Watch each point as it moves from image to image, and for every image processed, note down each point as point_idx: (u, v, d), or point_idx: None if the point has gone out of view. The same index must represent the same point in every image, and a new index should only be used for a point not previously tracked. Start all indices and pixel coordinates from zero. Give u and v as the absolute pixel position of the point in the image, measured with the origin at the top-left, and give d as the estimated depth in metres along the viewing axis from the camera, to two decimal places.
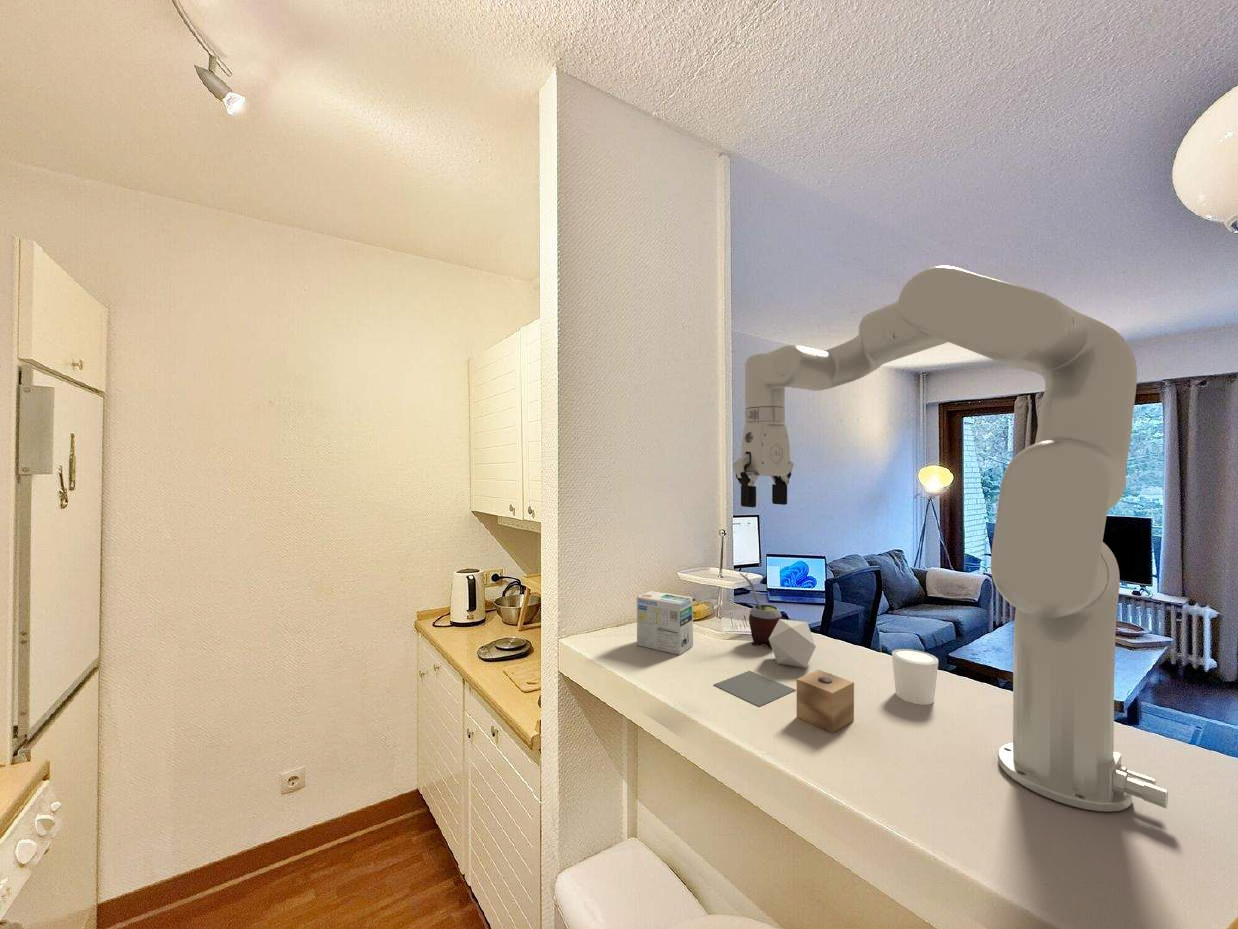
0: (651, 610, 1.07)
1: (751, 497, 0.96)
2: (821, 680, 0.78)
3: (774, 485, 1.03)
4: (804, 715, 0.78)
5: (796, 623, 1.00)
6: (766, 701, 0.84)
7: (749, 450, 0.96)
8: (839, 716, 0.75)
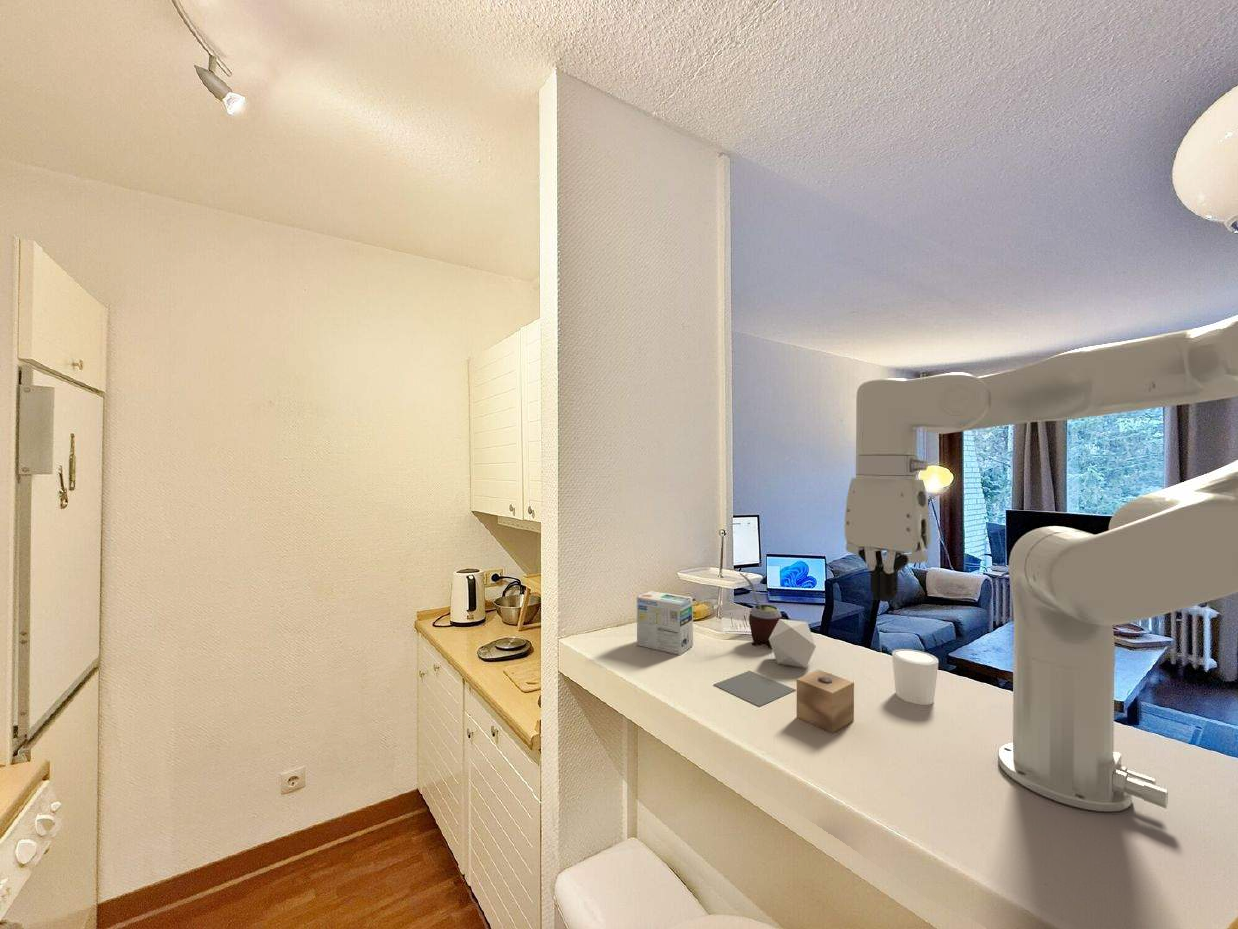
0: (651, 610, 1.07)
1: None
2: (821, 680, 0.78)
3: (879, 573, 0.71)
4: (804, 715, 0.78)
5: (796, 623, 1.00)
6: (766, 701, 0.84)
7: (924, 517, 0.67)
8: (839, 716, 0.75)
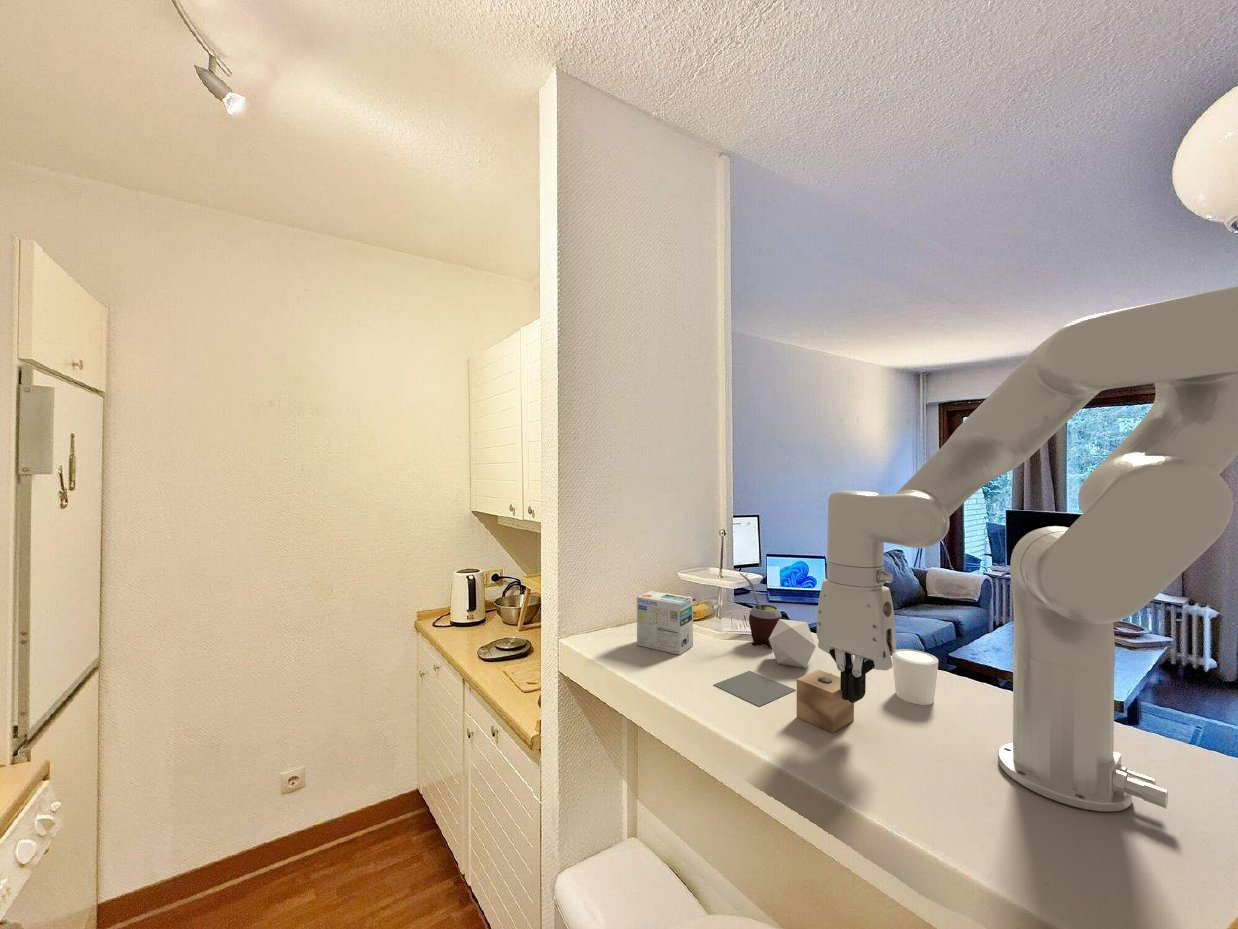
0: (651, 610, 1.07)
1: None
2: (821, 680, 0.78)
3: (848, 674, 0.74)
4: (804, 715, 0.78)
5: (796, 623, 1.00)
6: (766, 701, 0.84)
7: (889, 626, 0.71)
8: (839, 716, 0.75)
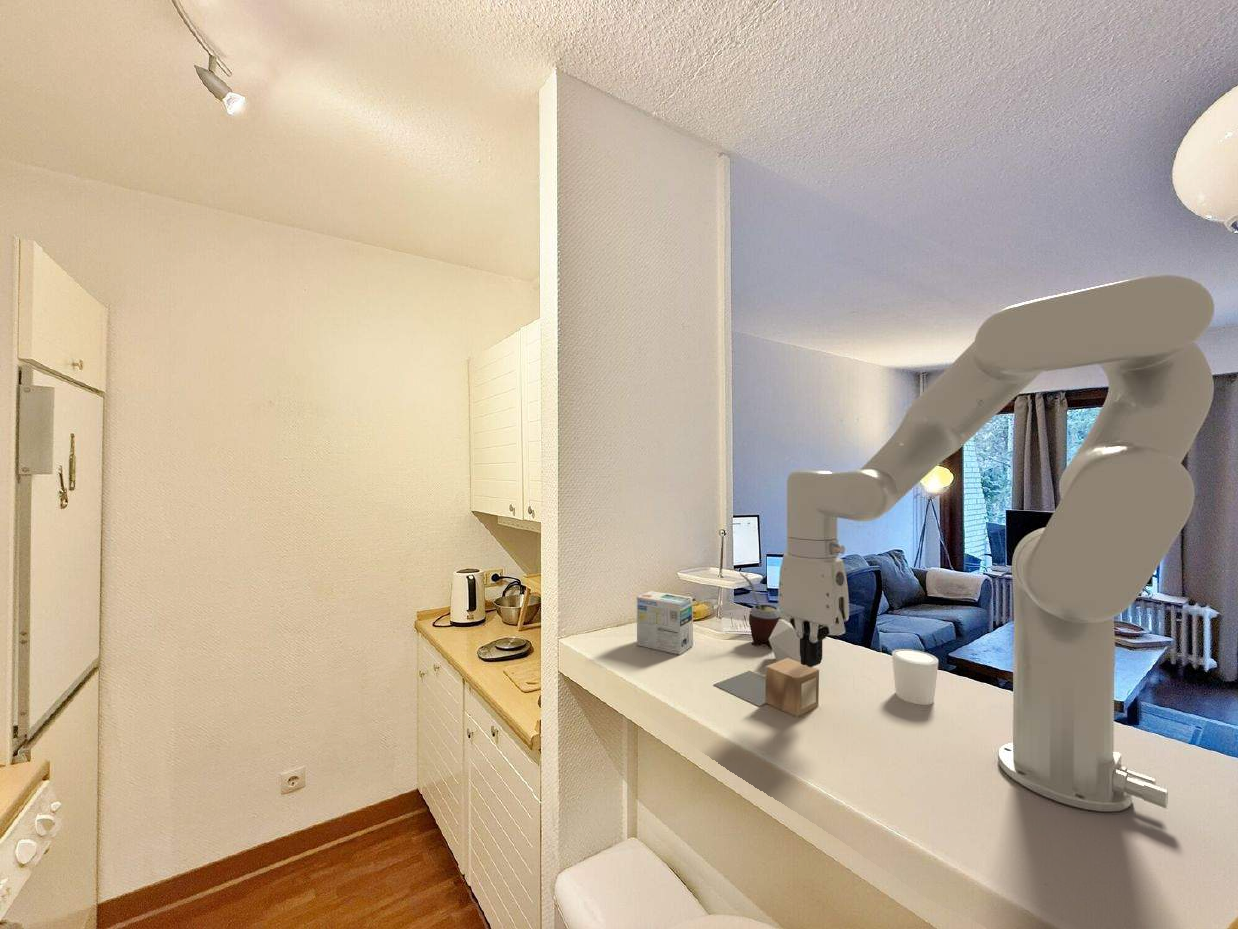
0: (651, 610, 1.07)
1: None
2: None
3: (806, 641, 0.80)
4: (792, 706, 0.80)
5: None
6: None
7: (842, 595, 0.76)
8: (793, 671, 0.82)
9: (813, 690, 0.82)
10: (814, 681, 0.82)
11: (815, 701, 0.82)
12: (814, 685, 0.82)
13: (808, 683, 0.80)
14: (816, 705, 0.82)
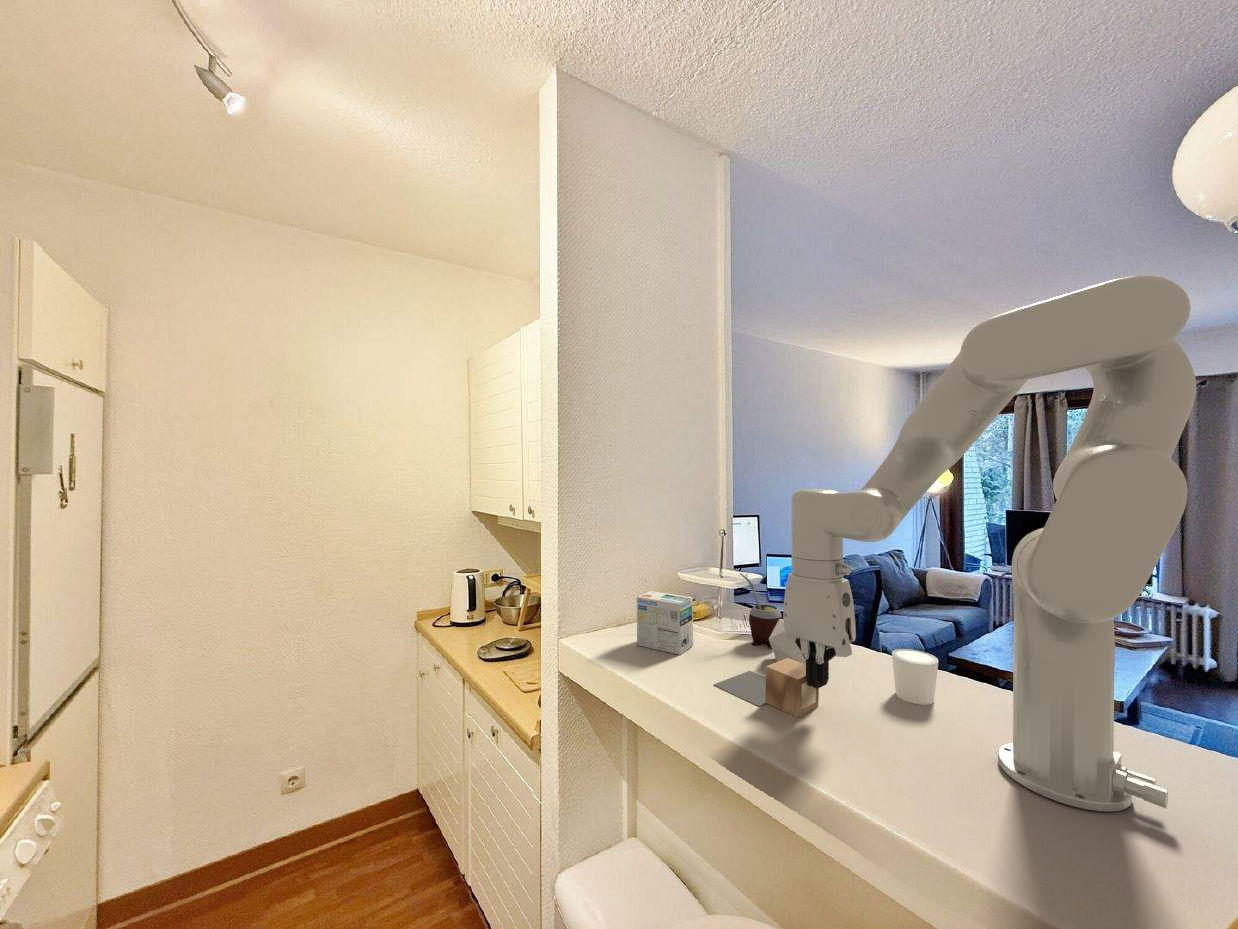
0: (651, 610, 1.07)
1: None
2: None
3: (812, 662, 0.79)
4: (792, 706, 0.80)
5: None
6: None
7: (848, 616, 0.76)
8: (794, 672, 0.81)
9: (813, 691, 0.81)
10: None
11: (815, 702, 0.82)
12: None
13: None
14: (816, 705, 0.82)
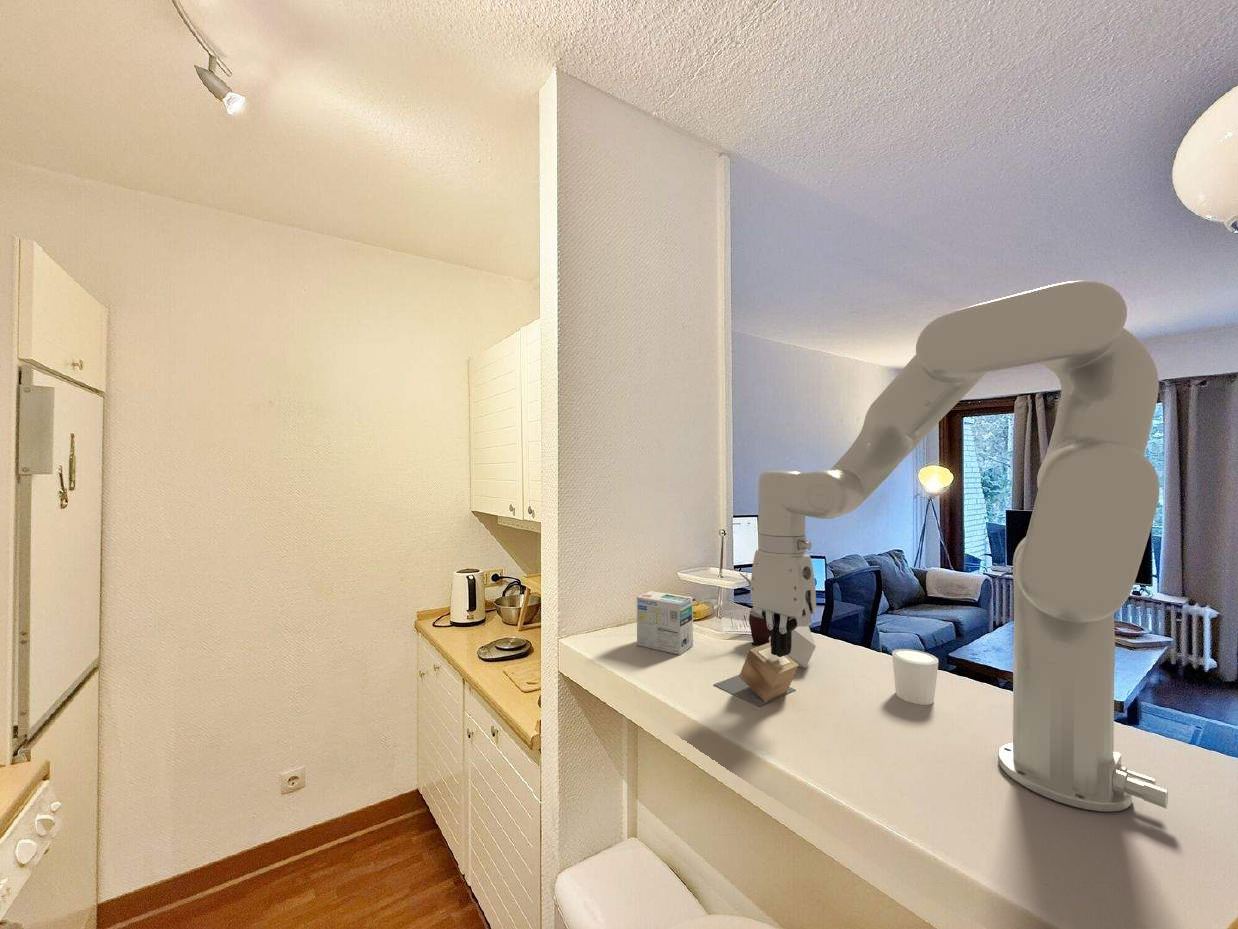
0: (651, 610, 1.07)
1: None
2: None
3: (776, 632, 0.84)
4: (769, 672, 0.83)
5: None
6: None
7: (809, 588, 0.81)
8: None
9: None
10: None
11: (790, 662, 0.86)
12: None
13: (766, 651, 0.87)
14: (795, 664, 0.85)
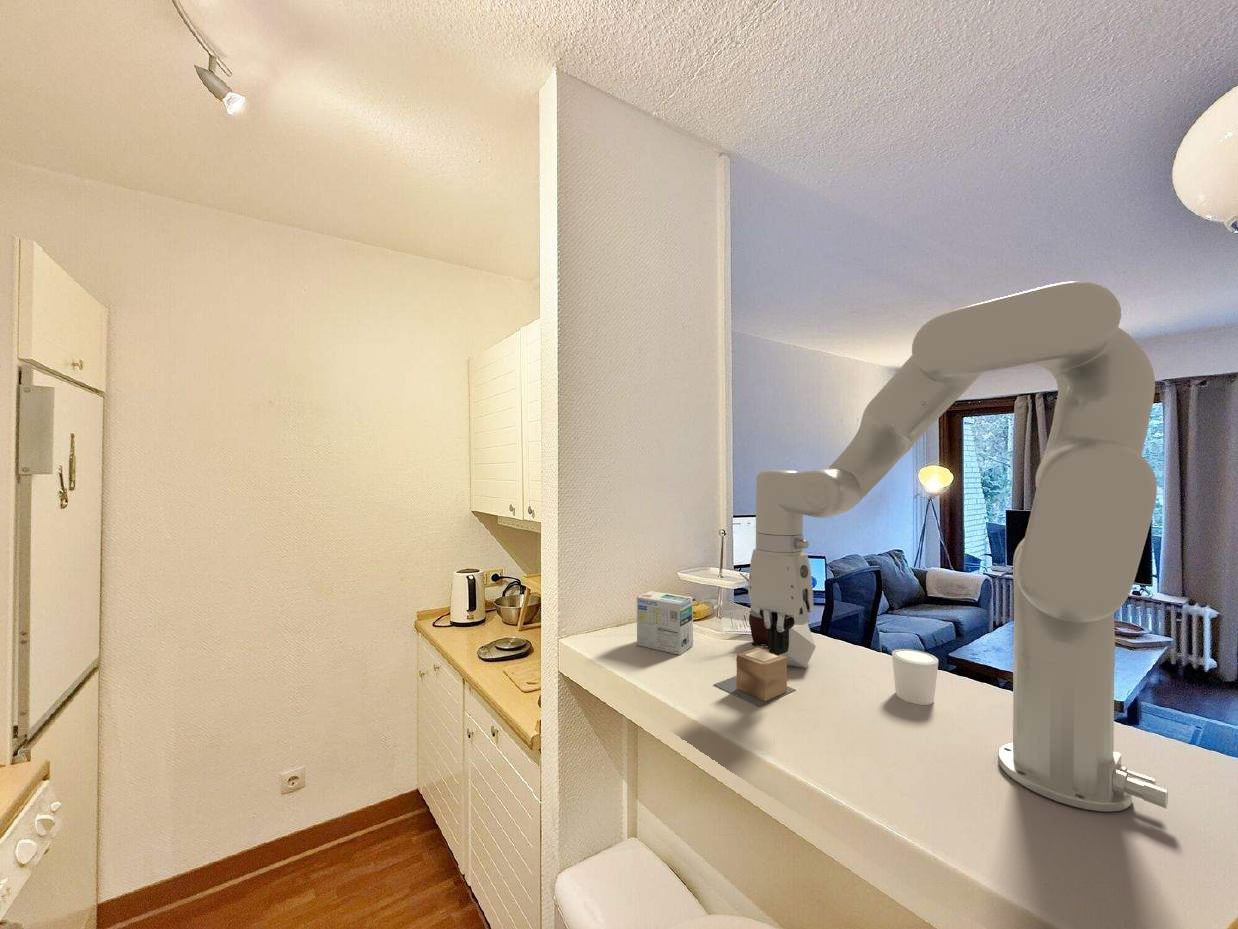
0: (651, 610, 1.07)
1: None
2: None
3: (774, 631, 0.85)
4: (758, 667, 0.85)
5: None
6: (766, 701, 0.84)
7: (806, 587, 0.81)
8: None
9: (766, 653, 0.89)
10: (760, 651, 0.90)
11: (778, 656, 0.88)
12: (763, 652, 0.90)
13: (752, 653, 0.89)
14: (783, 657, 0.87)
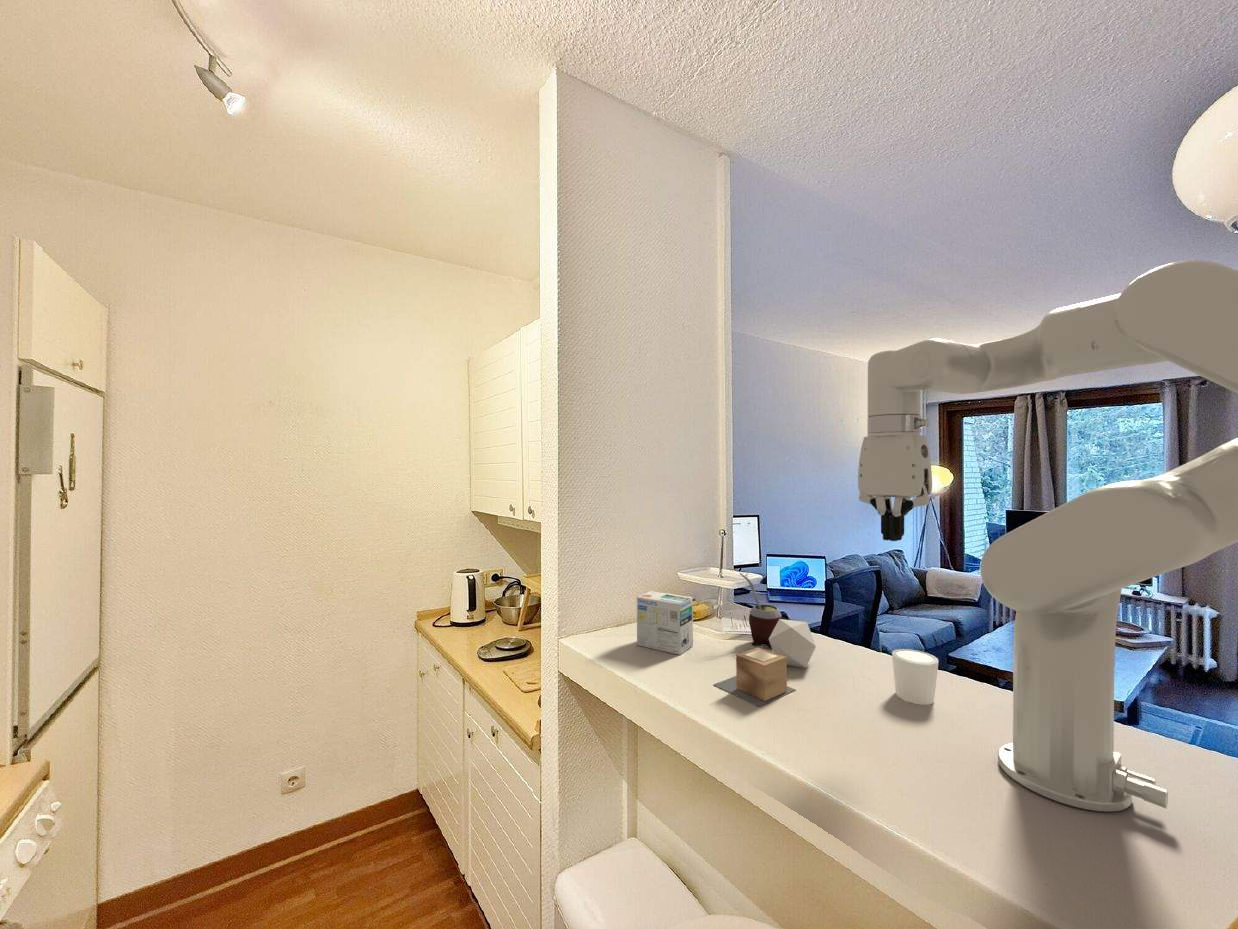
0: (651, 610, 1.07)
1: None
2: None
3: (888, 517, 0.82)
4: (757, 667, 0.85)
5: (796, 623, 1.00)
6: (766, 701, 0.84)
7: (926, 467, 0.79)
8: None
9: (766, 653, 0.89)
10: (759, 651, 0.90)
11: (777, 656, 0.88)
12: (763, 652, 0.90)
13: (752, 653, 0.89)
14: (783, 657, 0.87)
